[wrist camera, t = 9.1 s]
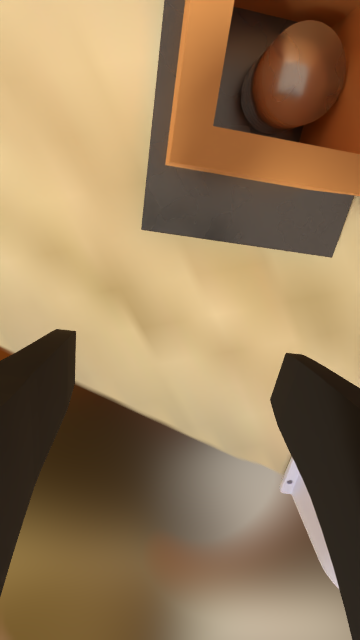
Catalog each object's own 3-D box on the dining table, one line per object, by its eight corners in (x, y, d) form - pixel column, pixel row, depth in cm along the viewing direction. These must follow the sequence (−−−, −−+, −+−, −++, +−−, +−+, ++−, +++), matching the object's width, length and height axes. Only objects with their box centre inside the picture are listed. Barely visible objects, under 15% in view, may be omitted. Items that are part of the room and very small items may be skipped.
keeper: (323, 253, 19) (364, 273, 16) (142, 226, 18) (138, 241, 14) (434, -71, 14) (542, -164, 10) (180, -147, 12) (190, -289, 8)
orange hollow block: (308, 189, 17) (381, 198, 11) (165, 164, 16) (169, 161, 10) (364, 0, 14) (503, -113, 8) (190, -45, 13) (216, -207, 7)
